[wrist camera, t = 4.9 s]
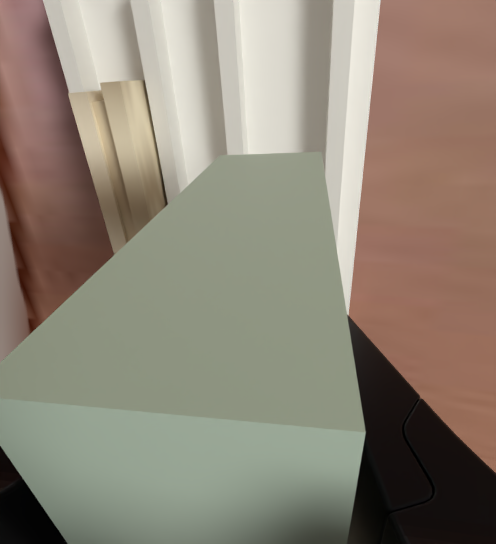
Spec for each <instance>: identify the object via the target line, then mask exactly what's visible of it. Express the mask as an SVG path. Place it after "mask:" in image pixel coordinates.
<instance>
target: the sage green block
mask: <svg viewBox="0 0 496 544" xmlns="http://www.w3.org/2000/svg"><path fill="white" fill-rule="evenodd" d="M365 434H366V431H365V425H364V418H363V412H362V406H361V400H360V393H359V387H358V381H357V374H356V368H355V362H354V355H353V349H352V343H351V336H350V330H349V324H348V317H347V311H346V305H345V298H344V292H343V286H342V279H341V273H340V267H339V261H338V254H337V248H336V242H335V235H334V229H333V223H332V216H331V210H330V204H329V197H328V191H327V185H326V178H325V172H324V166H323V159H322V153H321V152H299V153H271V154H243V155H220V156H219V157H218V158H217V159H216V160H215V161H214V162H212V163H211V164H210V165H209V166H208V167H207V168H206V169H205V170H204V171H203V172H202V173H201V174H200V175H199V176H198V177H197V178H195V179H194V180H193V181H192V182H191V183H190V184H189V185H188V186H187V187H186V188H185V189H184V190H183V191H182V192H181V193H180V194H179V195H177V196H176V197H175V198H174V199H173V200H172V201H171V202H170V203H169V204H168V205H167V206H166V207H165V208H164V209H163V210H162V211H160V212H159V213H158V214H157V215H156V216H155V217H154V218H153V219H152V220H151V221H150V222H149V223H148V224H147V225H146V226H145V227H143V228H142V229H141V230H140V231H139V232H138V233H137V234H136V235H135V236H134V237H133V238H132V239H131V240H130V241H129V242H128V243H127V244H125V245H124V246H123V247H122V248H121V249H120V250H119V251H118V252H117V253H116V254H115V255H114V256H113V257H112V258H111V259H110V260H108V261H107V262H106V263H105V264H104V265H103V266H102V267H101V268H100V269H99V270H98V271H97V272H96V273H95V274H94V275H93V276H92V277H90V278H89V279H88V280H87V281H86V282H85V283H84V284H83V285H82V286H81V287H80V288H79V289H78V290H77V291H76V292H75V293H73V294H72V295H71V296H70V297H69V298H68V299H67V300H66V301H65V302H64V303H63V304H62V305H61V306H60V307H59V308H58V309H56V310H55V311H54V312H53V313H52V314H51V315H50V316H49V317H48V318H47V319H46V320H45V321H44V322H43V323H42V324H41V325H40V326H38V327H37V328H36V329H35V330H34V331H33V332H32V333H31V334H30V335H29V336H28V337H27V338H26V339H25V340H24V341H23V342H21V343H20V344H19V345H18V346H17V347H16V348H15V349H14V350H13V351H12V352H11V353H10V354H9V355H8V356H7V357H6V358H5V359H3V360H2V361H1V363H0V446H1V447H2V449H3V450H4V452H5V453H6V455H7V456H8V458H9V459H10V460H11V462H12V463H13V465H14V466H15V468H16V469H17V471H18V472H19V474H20V475H21V476H22V478H23V479H24V481H25V482H26V484H27V485H28V487H29V488H30V490H31V491H32V492H33V494H34V495H35V497H36V498H37V500H38V501H39V503H40V504H41V506H42V507H43V508H44V510H45V511H46V513H47V514H48V516H49V517H50V519H51V520H52V521H53V523H54V524H55V526H56V527H57V529H58V530H59V532H60V533H61V535H62V536H63V537H64V539H65V540H66V542H67V543H68V544H347V540H348V534H349V528H350V523H351V517H352V511H353V505H354V499H355V493H356V487H357V481H358V475H359V469H360V463H361V457H362V452H363V446H364V440H365Z"/></svg>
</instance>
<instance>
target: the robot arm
mask: <svg viewBox="0 0 496 544" xmlns="http://www.w3.org/2000/svg"><path fill="white" fill-rule="evenodd" d="M347 317H348V324H349V330H350V336H351V343H352V349H353V355H354V362H355V368H356V374H357V381H358V387H359V393H360V400H361V406H362V412H363V418H364V425H365V431H366V434H365V440H364V446H363V452H362V457H361V463H360V469H359V475H358V481H357V487H356V493H355V499H354V505H353V511H352V517H351V523H350V528H349V534H348V540H347V544H496V473H495V472H494V471H493V470H492V469H491V468H490V467H489V466H488V465H486V464H485V463H484V462H483V461H482V460H481V459H480V458H479V457H478V456H477V455H476V454H475V453H474V452H473V451H472V450H471V449H470V448H469V447H468V446H467V445H466V444H465V443H464V442H463V441H462V440H461V439H460V438H459V437H458V436H457V435H456V434H455V433H454V432H453V431H452V430H451V429H450V428H449V427H448V426H447V425H446V424H445V423H444V422H443V421H442V420H441V418H440V417H439V416H438V415H437V414H436V413H435V412H434V411H433V410H432V409H431V408H430V406H429V405H428V404H427V403H426V402H425V401H424V400H423V399H420V395H419V394H418V393H417V392H416V391H415V390H414V389H413V388H412V386H411V385H410V384H409V383H408V382H407V381H406V380H405V379H404V378H403V376H402V375H401V374H400V373H399V372H398V371H397V370H396V369H395V367H394V366H393V365H392V364H391V363H390V362H389V361H388V360H387V358H386V357H385V356H384V355H383V354H382V353H381V352H380V351H379V349H378V348H377V347H376V346H375V345H374V344H373V343H372V342H371V341H370V339H369V338H368V337H367V336H366V335H365V334H364V333H363V332H362V330H361V329H360V328H359V327H358V326H357V325H356V324H355V323H354V321H353V320H352V319H351V318H350V317H349V316H348V315H347ZM0 544H68V543H67V542H66V540H65V539H64V537H63V536H62V535H61V533H60V532H59V530H58V529H57V527H56V526H55V524H54V523H53V521H52V520H51V519H50V517H49V516H48V514H47V513H46V511H45V510H44V508H43V507H42V506H41V504H40V503H39V501H38V500H37V498H36V497H35V495H34V494H33V492H32V491H31V490H30V488H29V487H28V485H27V484H26V482H25V481H24V479H23V478H22V476H21V475H20V474H19V472H18V471H17V469H16V468H15V466H14V465H13V463H12V462H11V460H10V459H9V458H8V456H7V455H6V453H5V452H4V450H3V449H2V447H1V446H0Z"/></svg>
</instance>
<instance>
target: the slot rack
mask: <svg viewBox="0 0 496 544" xmlns="http://www.w3.org/2000/svg"><path fill="white" fill-rule="evenodd" d="M43 2H44V6H45V9H46V13H47V16H48V20H49V23H50V27H51V30H52V34H53V37H54V41H55V44H56V48H57V51H58V55H59V58H60V62H61V65H62V69H63V72H64V76H65V79H66V83H67V86H68V90H69V93H75V92H87V91H99V90H101V86H100V83H102V82H116V81H135V80H145V83H146V88H147V94H148V99H149V105H150V110H151V115H152V121H153V126H154V132H155V137H156V142H157V148H158V153H159V159H160V164H161V169H162V175H163V180H164V186H165V191H166V196H167V202H168V204H169V203H170V202H171V201H172V200H173V199H174V198H175V197H176V196H177V195H179V194H180V193H181V192H182V191H183V190H184V189H185V188H186V187H187V186H188V185H189V184H190V183H191V182H192V181H193V180H194V179H195V178H197V177H198V176H199V175H200V174H201V173H202V172H203V171H204V170H205V169H206V168H207V167H208V166H209V165H210V164H211V163H212V162H214V161H215V160H216V159H217V158H218V157H219V156H220V155H243V154H271V153H299V152H321V153H322V159H323V166H324V172H325V178H326V185H327V191H328V197H329V204H330V210H331V216H332V223H333V229H334V235H335V242H336V248H337V254H338V261H339V267H340V273H341V279H342V286H343V292H344V298H345V305H346V311H347V315H348V314H349V304H350V295H351V285H352V275H353V265H354V255H355V246H356V236H357V226H358V216H359V206H360V197H361V187H362V177H363V167H364V157H365V147H366V138H367V128H368V118H369V108H370V98H371V89H372V79H373V69H374V59H375V49H376V40H377V30H378V20H379V10H380V0H43Z"/></svg>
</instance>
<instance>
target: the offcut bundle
mask: <svg viewBox="0 0 496 544" xmlns="http://www.w3.org/2000/svg"><path fill="white" fill-rule="evenodd" d="M100 86H101V90H99V91H87V92H75V93H68V96H69V99H70V103H71V106H72V110H73V113H74V117H75V120H76V124H77V127H78V131H79V134H80V137H81V141H82V144H83V148H84V151H85V155H86V158H87V162H88V165H89V169H90V172H91V176H92V179H93V183H94V186H95V190H96V193H97V197H98V200H99V204H100V207H101V210H102V214H103V217H104V221H105V224H106V228H107V231H108V235H109V238H110V242H111V245H112V249H113V252H114V255H115V254H116V253H117V252H118V251H119V250H120V249H121V248H122V247H123V246H124V245H125V244H127V243H128V242H129V241H130V240H131V239H132V238H133V237H134V236H135V235H136V234H137V233H138V232H139V231H140V230H141V229H142V228H143V227H145V226H146V225H147V224H148V223H149V222H150V221H151V220H152V219H153V218H154V217H155V216H156V215H157V214H158V213H159V212H160V211H162V210H163V209H164V208H165V207H166V206H167V205H168V202H167V196H166V191H165V186H164V180H163V175H162V169H161V164H160V159H159V153H158V148H157V142H156V137H155V132H154V126H153V121H152V115H151V110H150V105H149V99H148V94H147V88H146V83H145V80H135V81H116V82H102V83H100Z"/></svg>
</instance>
